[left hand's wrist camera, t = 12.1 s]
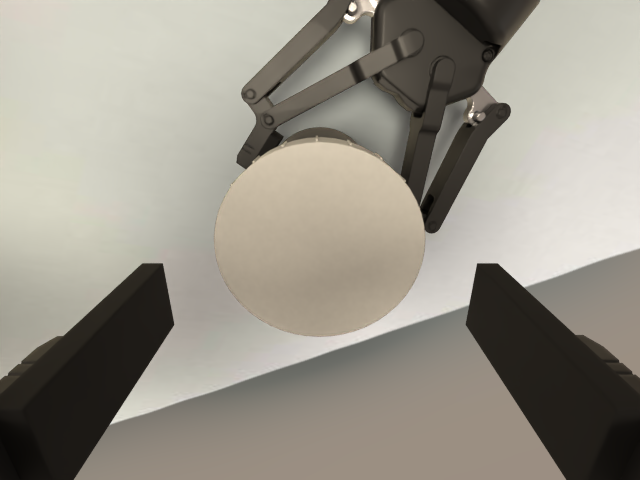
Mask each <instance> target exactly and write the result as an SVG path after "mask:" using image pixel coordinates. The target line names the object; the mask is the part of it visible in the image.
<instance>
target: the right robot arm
mask: <svg viewBox="0 0 640 480" xmlns="http://www.w3.org/2000/svg"><path fill="white" fill-rule="evenodd" d="M539 2H540V0H329V1H328V3H327V5H326V6H325V7H324V8H323V9H322V10H321V11H320V12H318V13H317V14H316V15H315V16H314V17H313V18H312V19H311V20H310V21H309V22H308V23H307V24H306V25H305V26H304V27H303V28H302V29H301V30H300V31H299V32H298V33H297V34H296V35H295V36H294V37H293V38H292V39H291V40H290V41H289V42H288V43H287V44H286V45H285V46H284V47H283V48H282V49H281V50H280V51H279V52H278V53H277V54H276V55H275V56H274V57H273V58H272V59H271V60H270V61H269V62H268V63H267V64H266V65H265V66H264V67H263V68H262V69H261V70H260V71H259V72H258V73H257V74H256V75H255V76H254V77H253V78H252V79H251V80H250V81H249V82H248V83H247V84H246V85H245V86H244V87H243V89H242V92H241V95H242V98H243V100H244V101H245V102H246V103H247V104H248V105H249V106H250V108H251V109H252V110H253V112H254V113H255V115H256V125H255V127H254V129H253V130H252V132H251V134H250V135H249V137H248V139H247V140H246V142H245V144H244V145H243V147H242V149H241V150H240V152H239V154H238V156H237V162H236V163H238V164H239V165H241V166H242V167H244V168H245V169H247V168H248V167H249V166H250V165H252V164H253V163H252V161H253V160H255V159H256V158H257V157H258V156H260V157H261V156H262V155H264V154H265V153H267V152H268V151H270V150H272V149H274V148H276V147H278V145H279V143H280V142H281V140H282V139H283V137H284V136H282V135H281V134H279V133H278V132H276V131H275V130H276V129H277V127H278V126H279V125H281V124H283V123H285V122H287V121H288V120H290V119H292V118H294V117H296V116H298V115H300V114H302V113H303V112H305V111H307V110H309V109H311V108H313V107H315V106H316V105H318V104H320V103H322V102H324V101H326V100H328V99H330V98H331V97H333V96H335V95H337V94H339V93H341V92H343V91H344V90H346V89H348V88H350V87H352V86H354V85H356V84H358V83H359V82H361V81H363V80H365V79H367V78H369V77H372V79H373V81H374V84H375V85H376V86H377V87H378V88H380V89H381V90H382V91H385V92H387V93H389V94H392V95H393V96H394V98H395V99H396V100H397V102H398V103H399V105H401V106H402V107H403V108H404V109H406V110H407V111H412V114H411V119H410V133H409V137H408V142H407V147H406V152H405V157H404V162H403V167H402V172H401V176H402V177H403V178H404V179H405V180H406V182H405V183H406V184H407V185H408V187H409V188H410V190H411V192H412V193H413V195H414V197H415V199H416V200H417V203H418V206H419V207H420V211H421V214H422V218H423V223H424V229H425V231H426V232H428V233H435V232H437V231H438V230H439V229H440V227H441V225H442V223H443V221H444V219H445V217H446V216H447V214H448V212H449V210H450V208H451V206H452V204H453V202H454V201H455V199H456V197H457V195H458V193H459V191H460V189H461V188H462V186H463V184H464V182H465V180H466V178H467V176H468V174H469V173H470V171H471V169H472V167H473V165H474V163H475V161H476V159H477V158H478V156H479V154H480V152H481V150H482V148H483V146H484V144H485V143H486V141H487V139H488V138H489V137H490V136H491V135H492V134H493V133H494V132H495V131H496V130H497V129H498V128H499V127H500V126H501V125H502V124H503V123H504V122H505V121H506V120H507V119H508V117H509V116H510V113H511V108H510V106H509V105H508V104H506V103H498V102H496V100H495V99H494V98H493V97H492V96H491V95H490V94H489V93H488V92H487V91H486V90H485V88H484V87H483V86H482V85H483V82H484V78H485V74H486V71H487V69H488V67H489V65H490V64H491V62H492V61H493V60H494V59H495V58H496V56H497V55H498V54H499V53H500V52H501V50H502V49H503V48H504V47H505V45H506V44H507V43H508V42H509V40H510V39H511V38H512V37H513V35H514V34H515V33H516V31H517V30H518V29H519V28H520V26H521V25H522V24H523V23H524V21H525V20H526V19H527V18H528V16H529V15H530V14H531V13H532V11H533V10H534V9H535V7H536V6H537V5H538V4H539ZM365 15H367V16H370V17H372V18H371V44H370V53H369V54H367V55H366V56H364V57H362V58H360V59H358V60H357V61H355V62H353V63H352V64H350V65H348V66H346V67H344V68H343V69H341V70H339V71H337V72H335V73H334V74H332V75H330V76H328V77H326V78H324V79H323V80H321V81H319V82H317V83H315V84H313V85H312V86H310V87H308V88H306V89H304V90H303V91H301V92H299V93H297V94H295V95H293V96H292V97H290V98H288V99H286V100H284V101H282V102H281V103H279V104H277V105H275V106H274V105H273V104H272V102H271V101H270V99H269V98H268V96H269V95H270V94H271V93H272V92H274V91H275V90H276V89H277V88H278V87H279V86H280V85H281V84H282V83H283V82H284V81H285V80H286V79H287V78H288V77H289V76H290V75H291V74H292V73H293V72H294V71H295V70H296V69H297V68H298V67H300V66H301V65H302V64H303V63H304V62H305V61H306V60H307V59H308V58H309V57H310V56H311V55H312V54H313V53H314V52H315V51H316V50H317V49H318V48H319V47H320V46H321V45H322V44H323V43H325V42H326V41H327V40H328V39H329V38H330V37H331V36H332V35H333V34H334V33H335V32H336V30H337V29H338V28H339V26H340V25H341V24H342V22H343V21H344V22H345V23H347V24H353V23H355V22H356V21H357V20H358V19H359V18H360V17H362V16H365ZM464 99H466V100H467V108H466V110H465V112H464V114H463V120H464V123H463V125H462V126H461V128H460V129H459V130H458V132H457V134H456V136H455V138H454V140H453V142H452V144H451V146H450V148H449V150H448V152H447V154H446V156H445V158H444V160H443V162H442V164H441V166H440V168H439V170H438V172H437V174H436V176H435V178H434V180H433V182H432V184H431V186H430V188H429V190H428V192H427V194H426V196H425V198H424V200H423V202H422V204H421V206H420V202H421V198H422V194H423V189H424V185H425V181H426V177H427V172H428V168H429V164H430V160H431V155H432V151H433V147H434V142H435V138H436V135H437V133H438V132H439V130H440V127H441V123H442V119H443V115H444V111H445V107H446V105H449V104H452V103H455V102H458V101H461V100H464Z"/></svg>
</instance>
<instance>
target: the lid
mask: <svg viewBox="0 0 640 480" xmlns="http://www.w3.org/2000/svg"><path fill="white" fill-rule="evenodd" d="M252 163H253V164H252V165H250V166H249V167H248V168H247V169H246V170H245V171H244V172H243V173H242V174H241V175H240V176H239V177H238V178H237V179H236V180H235V181H234V182H233V183H232V184H231V185H230V186H231V187H230V189H229V190H228V192H227V194H226V196H225V197H224V199H223V202H222V204H221V206H220V209H219V212H218V216H217V219H216V223H215V233H214V245H215V254H216V259H217V263H218V266H219V269H220V272H221V275H222V277H223V279H224V281H225V283H226V285H227V286H228V288H229V289H230V291H231V293H232V294H233V295H234V297H235V298H236V299H237V300H238V301H239V302H240V304H241V305H242V306H244V307H245V308H246V309H247V310H248V311H249V312H250V313H252V314H253V315H254V316H256V317H257V318H259V319H260V320H262V321H263V322H265V323H267V324H269V325H271V326H273V327H275V328H278V329H280V330H283V331H286V332H290V333H293V334H298V335H304V336H316V337H322V336H335V335H341V334H346V333H349V332H353V331H356V330H359V329H361V328H364V327H367V326H368V325H370V324H372V323H374V322H376V321H378V320H379V319H381V318H382V317H384V316H385V315H387V314H388V313H389V312H390V311H391V310H392V309H394V308H395V307H396V306H397V305H398V304H399V303H400V302H401V300H402V299H403V298H404V297H405V296H406V294H407V293H408V291H409V290H410V289H411V287H412V285H413V283H414V282H415V280H416V278H417V276H418V273H419V270H420V267H421V265H422V260H423V256H424V250H425V229H424V223H423V218H422V214H421V211H420V207H419V206H418V203H417V200H416V199H415V197H414V195H413V193H412V192H411V190H410V188H409V187H408V185H407V184H406V183H405V182H406V180H405V179H404V178H403V177H402V176H401V175H399V174H398V173H396V172H395V171H394V170H393V169H392V168H391V167H390V166H389V165H388V164H387V163H386V162H385V161H384V160H383V158H382V157H381V156H380V155H378V154H377V153H375V154H374V153H373V152H371V151H369V150H367V149H366V148H364V147H362V146H360V145H357V144H354V143H352V142H351V141H350V140H347V141H345V140H340V139H336V138H326V137H318V136H316V137H314V138H304V139H299V140H294V141H291V142H288V143H287V141H285V142H284V143H283V144H282V145H280V146H278V147H276V148H274V149H272V150H270V151H268V152H267V153H265V154H264V155H262V156H261V157H260V156H258V157H257V158H256V159H255V160H253V161H252Z"/></svg>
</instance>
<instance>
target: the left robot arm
mask: <svg viewBox="0 0 640 480" xmlns="http://www.w3.org/2000/svg"><path fill="white" fill-rule="evenodd" d="M173 326H174V321H173V315H172V310H171V305H170V299H169V294H168V289H167V283H166V278H165V273H164V268H163V263H142V264H141V265H140V266H139V267H138V268H137V269H136V270H135V271H134V272H133V273H132V274H130V275H129V276H128V277H127V278H126V279H125V280H124V281H123V282H122V283H121V284H120V285H119V286H117V287H116V288H115V289H114V290H113V291H112V292H111V293H110V294H109V295H108V296H107V297H105V298H104V299H103V300H102V301H101V302H100V303H99V304H98V305H97V306H96V307H95V308H93V309H92V310H91V311H90V312H89V313H88V314H87V315H86V316H85V317H84V318H83V319H82V320H80V321H79V322H78V323H77V324H76V325H75V326H74V327H73V328H72V329H71V330H70V331H68V332H67V333H66V334H65V335H64V336H57V337H55V338H53V339H52V340H50V341H48V342H46V343H45V344H43V345H41V346H39V347H38V348H36V349H35V350H34V351H33V352H32V353H31V354H29V355H28V356H27V357H26V358H25V359H24V360H23V361H22V363H21V364H18V365H17V366H16V367H15V368H14V369H12V370H11V371H10V372H9V373H8V376H4V377H3V378H2V379H1V380H0V480H74V478H75V477H76V475H77V474H78V472H79V471H80V469H81V468H82V466H83V464H84V463H85V461H86V460H87V458H88V457H89V455H90V454H91V452H92V451H93V449H94V447H95V446H96V444H97V443H98V441H99V440H100V438H101V437H102V435H103V434H104V432H105V430H106V429H107V427H108V426H109V424H110V423H111V421H112V420H113V418H114V417H115V415H116V414H117V412H118V411H119V409H120V407H121V406H122V404H123V403H124V401H125V400H126V398H127V397H128V395H129V394H130V392H131V391H132V389H133V387H134V386H135V384H136V383H137V381H138V380H139V378H140V377H141V375H142V374H143V372H144V370H145V369H146V367H147V366H148V364H149V363H150V361H151V360H152V358H153V357H154V355H155V354H156V352H157V350H158V349H159V347H160V346H161V344H162V343H163V341H164V340H165V338H166V337H167V335H168V334H169V332H170V330H171V329H172V327H173ZM466 326H467V327H468V329H469V330H470V332H471V333H472V335H473V336H474V338H475V340H476V341H477V343H478V344H479V346H480V347H481V349H482V350H483V352H484V354H485V355H486V357H487V358H488V360H489V361H490V363H491V364H492V366H493V367H494V369H495V370H496V372H497V374H498V375H499V377H500V378H501V380H502V381H503V383H504V384H505V386H506V387H507V389H508V390H509V392H510V394H511V395H512V397H513V398H514V400H515V401H516V403H517V404H518V406H519V407H520V409H521V411H522V412H523V414H524V415H525V417H526V418H527V420H528V421H529V423H530V424H531V426H532V427H533V429H534V431H535V432H536V434H537V435H538V437H539V438H540V440H541V441H542V443H543V444H544V446H545V447H546V449H547V450H548V452H549V454H550V455H551V457H552V458H553V460H554V461H555V463H556V464H557V466H558V468H559V469H560V471H561V472H562V474H563V475H564V477H565V478H566V480H640V378H639V377H638V376H636V375H633V374H632V371H631V370H630V369H628V368H627V367H626V366H625V365H624V364H623V363H619V360H618V359H617V358H616V357H615V356H613V355H612V354H611V353H610V352H609V351H608V350H607V349H605V348H604V347H603V346H601V345H600V344H598V343H596V342H594V341H593V340H591V339H589V338H587V337H586V336H584V335H575V334H574V333H572V332H571V331H570V330H569V329H568V328H567V327H566V326H565V325H564V324H563V323H562V322H561V321H560V320H558V319H557V318H556V317H555V316H554V315H553V314H552V313H551V312H550V311H549V310H548V309H546V308H545V307H544V306H543V305H542V304H541V303H540V302H539V301H538V300H537V299H536V298H534V297H533V296H532V295H531V294H530V293H529V292H528V291H527V290H526V289H525V288H524V287H523V286H521V285H520V284H519V283H518V282H517V281H516V280H515V279H514V278H513V277H512V276H511V275H510V274H508V273H507V272H506V271H505V270H504V269H503V268H502V267H501V266H500V265H499V264H498V263H477V268H476V273H475V278H474V283H473V289H472V294H471V299H470V305H469V310H468V315H467V321H466Z"/></svg>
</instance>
